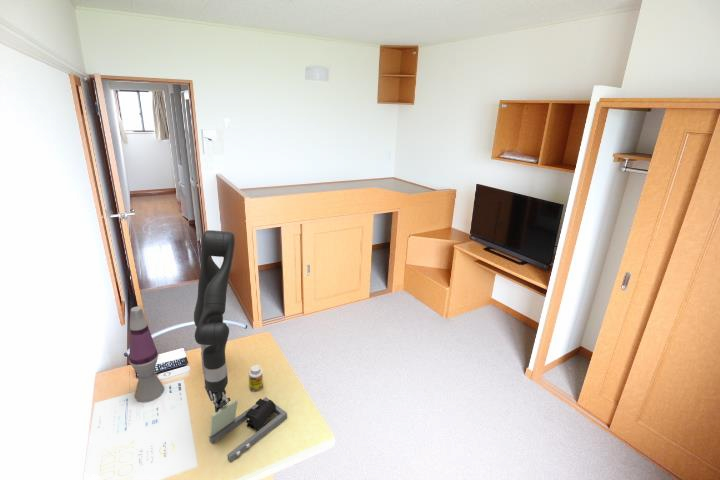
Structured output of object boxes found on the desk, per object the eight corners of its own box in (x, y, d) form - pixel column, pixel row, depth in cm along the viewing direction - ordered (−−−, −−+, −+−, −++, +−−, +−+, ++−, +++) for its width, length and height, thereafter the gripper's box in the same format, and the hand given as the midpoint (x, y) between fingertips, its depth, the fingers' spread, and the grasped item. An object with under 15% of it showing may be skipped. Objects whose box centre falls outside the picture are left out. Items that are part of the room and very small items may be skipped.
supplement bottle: (249, 392, 159) (248, 373, 156) (249, 383, 164) (248, 364, 161) (262, 391, 160) (262, 371, 157) (262, 382, 165) (262, 363, 162)
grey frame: (209, 441, 136) (209, 436, 135) (266, 401, 155) (266, 396, 154) (231, 463, 128) (231, 458, 128) (288, 418, 148) (288, 413, 147)
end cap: (260, 434, 140) (260, 420, 138) (245, 427, 143) (244, 413, 140) (276, 415, 149) (276, 401, 147) (261, 408, 152) (261, 395, 149)
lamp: (162, 399, 153) (149, 314, 139) (132, 404, 149) (116, 317, 135) (165, 381, 162) (153, 299, 148) (137, 385, 158) (122, 303, 144)
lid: (210, 437, 134) (208, 435, 135) (234, 421, 142) (232, 418, 142) (213, 416, 129) (210, 414, 129) (237, 400, 136) (235, 398, 137)
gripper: (236, 377, 129) (238, 415, 136) (214, 360, 137) (217, 397, 143) (216, 388, 124) (220, 428, 130) (195, 370, 131) (199, 408, 137)
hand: (218, 412), depth 136 cm, fingers closed
